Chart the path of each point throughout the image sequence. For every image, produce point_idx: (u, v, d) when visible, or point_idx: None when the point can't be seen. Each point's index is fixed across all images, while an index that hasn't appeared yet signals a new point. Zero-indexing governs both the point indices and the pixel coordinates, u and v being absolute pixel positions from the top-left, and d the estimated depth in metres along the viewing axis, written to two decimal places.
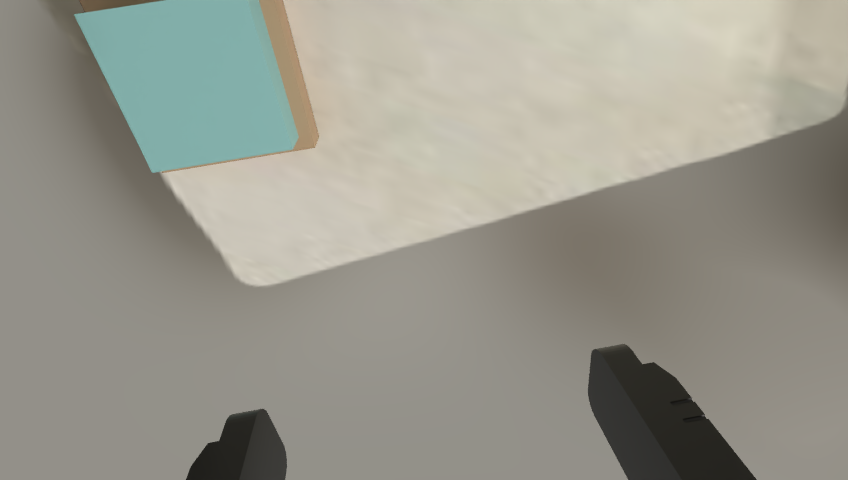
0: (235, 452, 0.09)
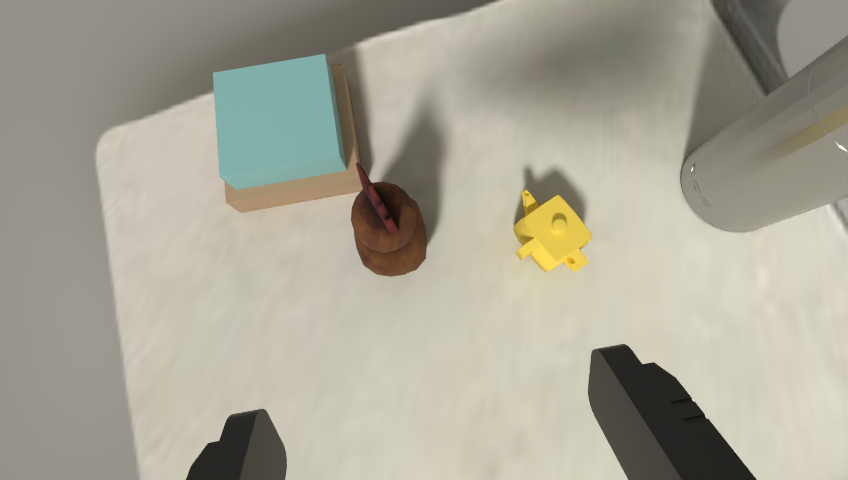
0: (235, 452, 0.09)
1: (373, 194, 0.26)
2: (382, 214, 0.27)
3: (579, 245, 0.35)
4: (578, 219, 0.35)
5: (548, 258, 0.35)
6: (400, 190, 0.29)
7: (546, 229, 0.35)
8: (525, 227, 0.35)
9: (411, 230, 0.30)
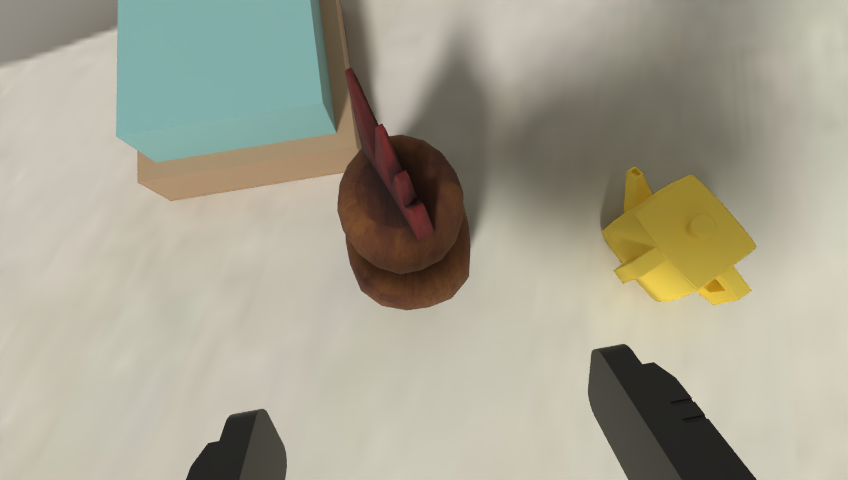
0: (235, 452, 0.09)
1: (385, 147, 0.11)
2: (403, 195, 0.12)
3: (735, 261, 0.20)
4: (730, 216, 0.21)
5: (678, 283, 0.20)
6: (436, 151, 0.15)
7: (676, 233, 0.20)
8: (638, 229, 0.21)
9: (456, 231, 0.15)
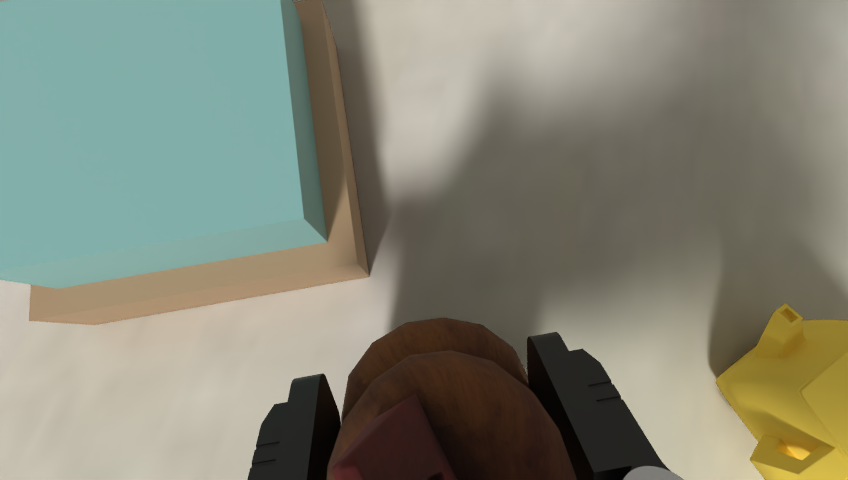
0: (304, 410, 0.09)
1: None
2: None
3: None
4: None
5: None
6: (528, 411, 0.07)
7: None
8: (803, 413, 0.13)
9: None
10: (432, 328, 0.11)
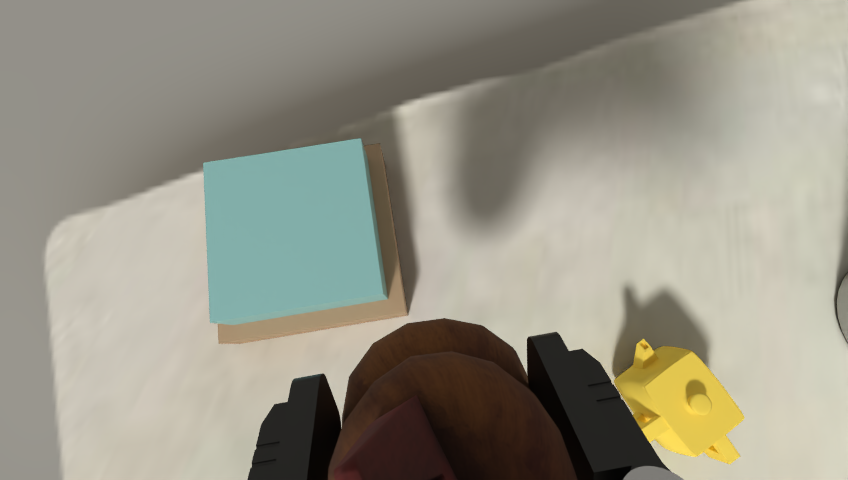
0: (305, 410, 0.09)
1: None
2: None
3: (726, 431, 0.24)
4: (723, 390, 0.25)
5: (679, 446, 0.25)
6: (529, 412, 0.07)
7: (678, 405, 0.24)
8: (646, 398, 0.25)
9: None
10: (433, 328, 0.11)
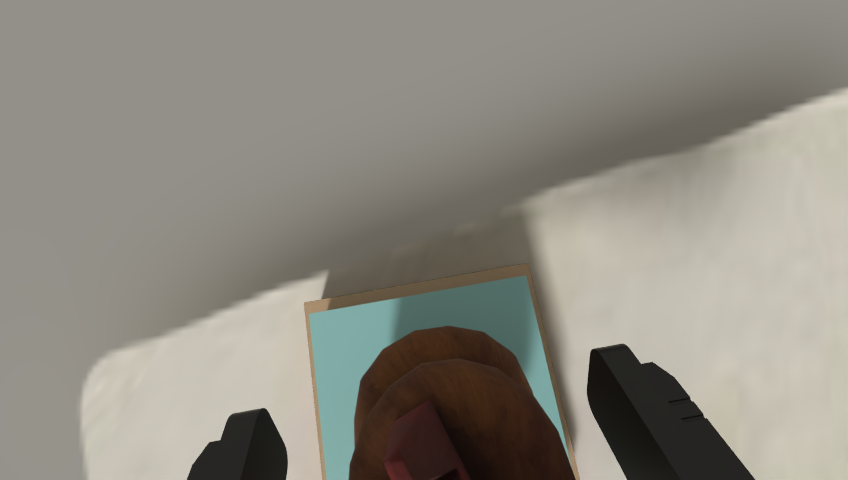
0: (236, 451, 0.09)
1: None
2: None
3: None
4: None
5: None
6: (530, 414, 0.08)
7: None
8: None
9: None
10: (439, 335, 0.12)
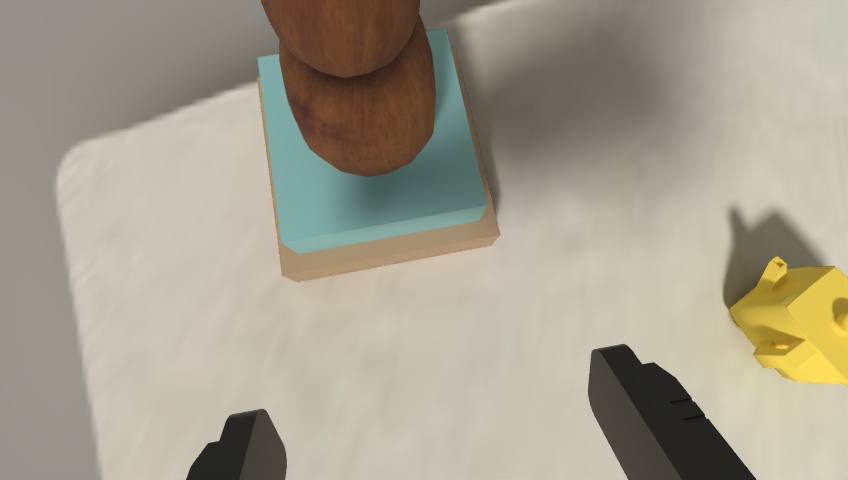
0: (235, 452, 0.09)
1: None
2: None
3: None
4: None
5: (825, 373, 0.22)
6: None
7: (826, 327, 0.21)
8: (786, 321, 0.22)
9: (410, 2, 0.11)
10: None
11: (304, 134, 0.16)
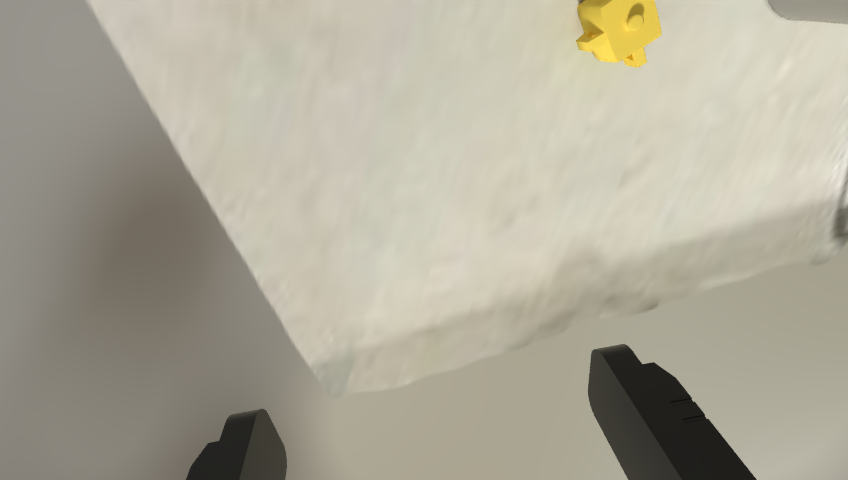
0: (235, 452, 0.09)
1: None
2: None
3: (645, 44, 0.34)
4: (655, 13, 0.33)
5: (609, 55, 0.34)
6: None
7: (619, 24, 0.33)
8: (598, 18, 0.33)
9: None
10: None
11: None
